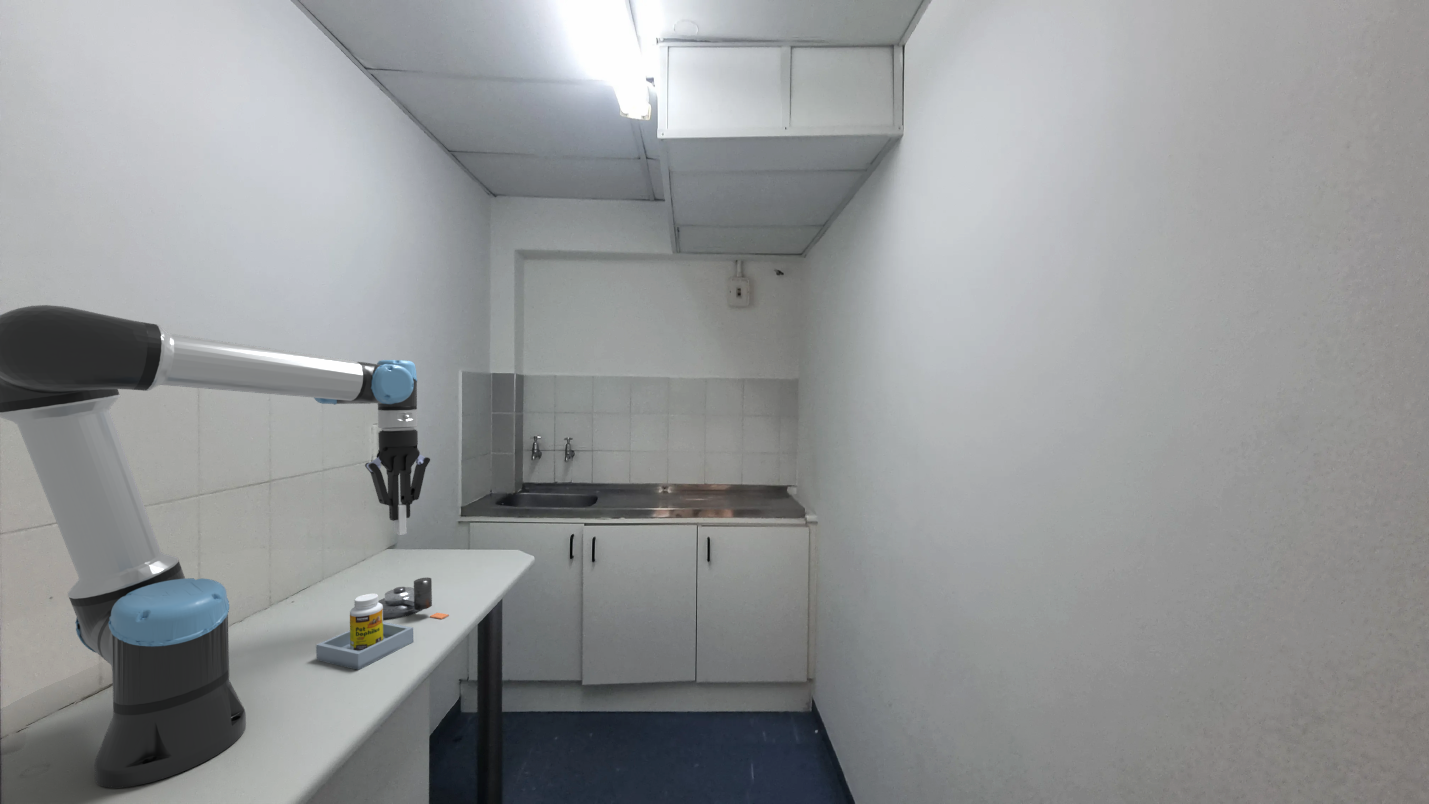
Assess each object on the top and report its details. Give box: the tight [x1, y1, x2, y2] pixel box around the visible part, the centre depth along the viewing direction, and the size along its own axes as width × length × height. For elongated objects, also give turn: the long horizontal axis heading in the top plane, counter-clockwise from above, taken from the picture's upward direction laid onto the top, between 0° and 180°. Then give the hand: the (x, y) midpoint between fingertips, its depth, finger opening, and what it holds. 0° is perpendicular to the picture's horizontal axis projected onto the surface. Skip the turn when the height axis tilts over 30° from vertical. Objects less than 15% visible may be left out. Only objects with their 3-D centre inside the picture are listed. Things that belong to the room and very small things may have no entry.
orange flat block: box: [429, 612, 450, 620], centre depth 120 cm, size 2×4×1 cm, turn 70°
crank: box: [384, 577, 433, 611], centre depth 122 cm, size 14×6×6 cm, turn 63°
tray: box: [315, 621, 414, 671], centre depth 104 cm, size 12×12×3 cm
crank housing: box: [378, 597, 422, 621], centre depth 124 cm, size 11×11×2 cm
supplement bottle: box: [349, 593, 384, 651], centre depth 104 cm, size 6×6×10 cm
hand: (400, 533), depth 116 cm, fingers closed
